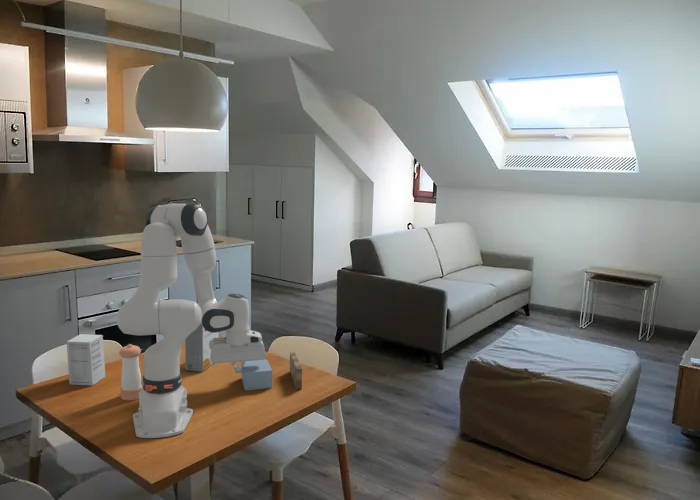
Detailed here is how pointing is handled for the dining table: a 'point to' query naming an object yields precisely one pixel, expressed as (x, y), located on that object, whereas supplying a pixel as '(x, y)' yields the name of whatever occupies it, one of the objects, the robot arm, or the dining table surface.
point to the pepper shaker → (130, 372)
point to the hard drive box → (198, 349)
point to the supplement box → (85, 359)
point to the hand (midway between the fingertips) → (238, 372)
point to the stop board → (296, 370)
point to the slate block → (256, 375)
